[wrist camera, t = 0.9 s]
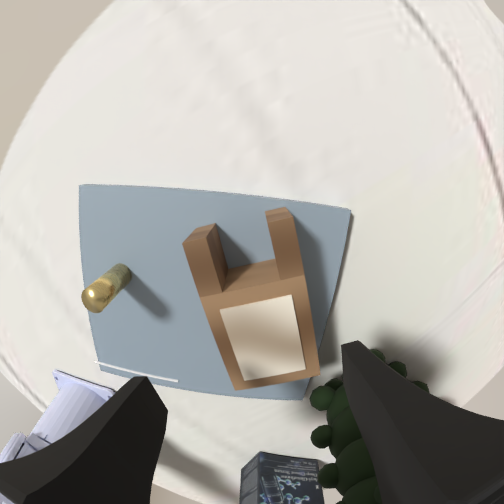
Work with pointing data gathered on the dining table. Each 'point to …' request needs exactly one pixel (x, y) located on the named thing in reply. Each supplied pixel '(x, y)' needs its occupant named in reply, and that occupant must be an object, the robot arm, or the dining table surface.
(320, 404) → the toy figurine
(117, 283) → the peg
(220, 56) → the dining table surface
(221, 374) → the board
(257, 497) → the box
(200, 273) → the wooden holder
